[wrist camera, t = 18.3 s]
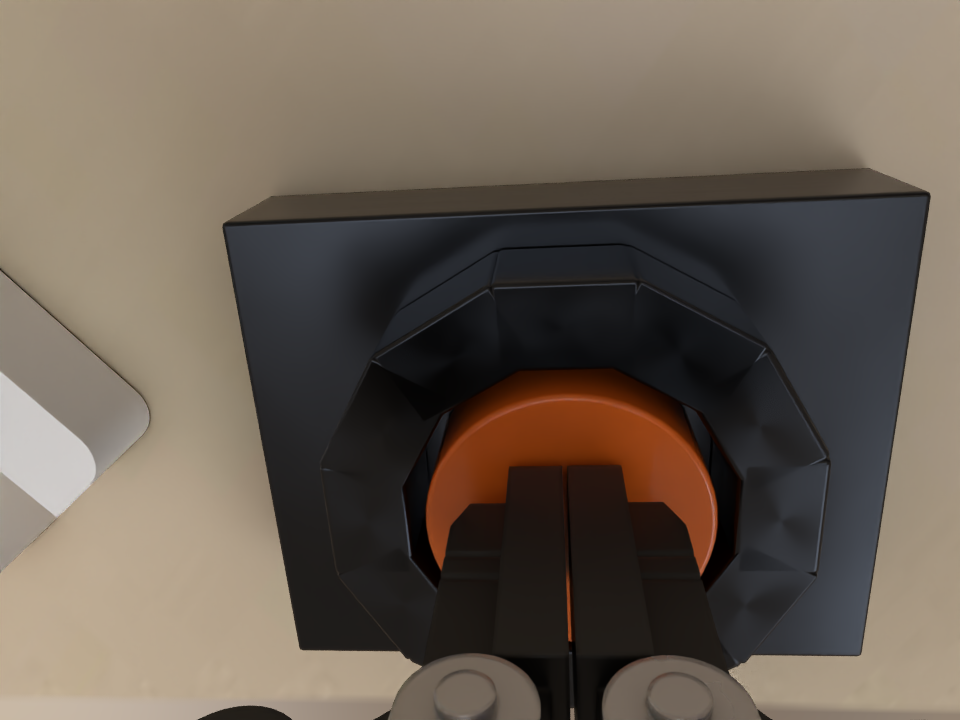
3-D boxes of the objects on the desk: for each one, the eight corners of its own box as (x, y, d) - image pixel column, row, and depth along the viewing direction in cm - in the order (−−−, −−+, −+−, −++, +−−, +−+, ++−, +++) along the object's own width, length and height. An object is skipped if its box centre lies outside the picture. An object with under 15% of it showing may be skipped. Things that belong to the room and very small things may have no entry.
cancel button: (702, 342, 11) (727, 392, 10) (691, 569, 13) (711, 645, 11) (430, 349, 12) (412, 398, 10) (449, 569, 13) (436, 643, 12)
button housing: (872, 166, 13) (1005, 220, 9) (822, 577, 16) (906, 744, 12) (268, 195, 14) (164, 253, 10) (329, 576, 17) (266, 730, 13)
